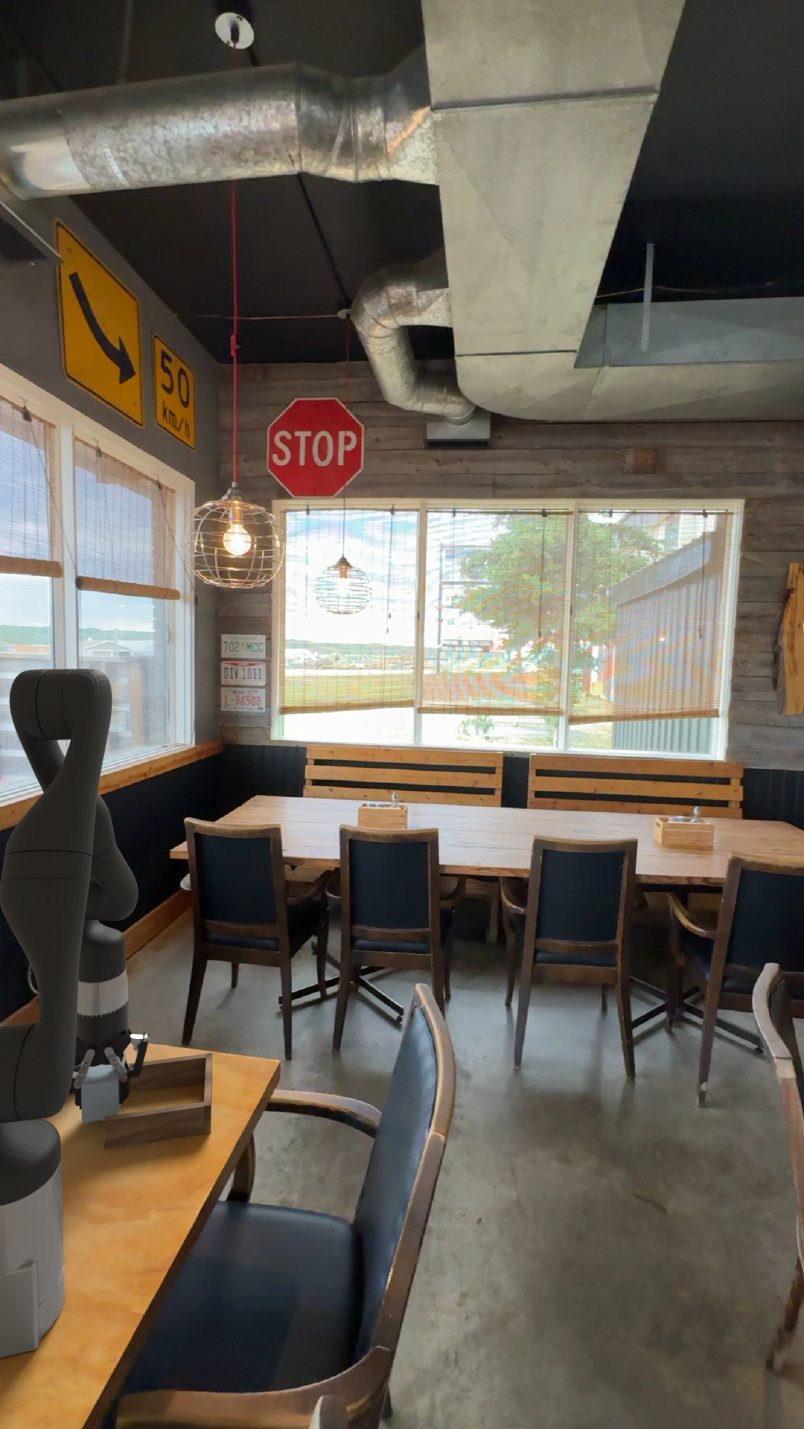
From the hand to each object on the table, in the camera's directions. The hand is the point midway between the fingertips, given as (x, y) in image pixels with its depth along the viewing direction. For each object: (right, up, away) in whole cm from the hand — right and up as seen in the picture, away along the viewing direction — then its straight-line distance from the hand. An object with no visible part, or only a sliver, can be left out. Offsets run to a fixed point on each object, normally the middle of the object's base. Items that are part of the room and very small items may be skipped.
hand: (103, 1102), depth 101 cm
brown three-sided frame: (+8, -3, +3) cm, 9 cm away
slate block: (0, -1, 0) cm, 1 cm away
